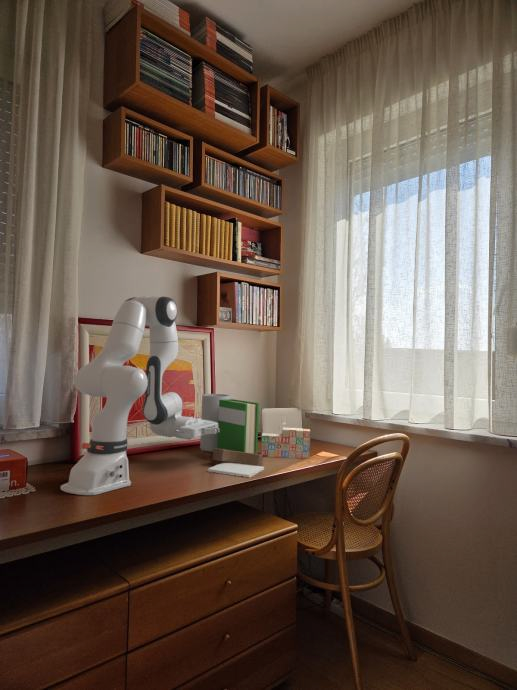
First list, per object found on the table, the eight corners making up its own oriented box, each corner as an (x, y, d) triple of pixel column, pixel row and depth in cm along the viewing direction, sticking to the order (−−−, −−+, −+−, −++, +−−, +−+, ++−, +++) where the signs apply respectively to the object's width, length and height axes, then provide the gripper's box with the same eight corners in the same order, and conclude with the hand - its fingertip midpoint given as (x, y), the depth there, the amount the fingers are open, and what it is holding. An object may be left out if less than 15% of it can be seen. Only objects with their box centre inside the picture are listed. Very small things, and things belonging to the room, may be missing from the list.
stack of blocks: (260, 456, 200) (261, 428, 201) (261, 453, 207) (262, 426, 207) (309, 459, 199) (310, 430, 199) (309, 456, 205) (309, 428, 205)
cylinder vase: (226, 452, 205) (228, 396, 205) (198, 451, 205) (200, 395, 205) (228, 447, 217) (230, 394, 218) (201, 446, 217) (203, 393, 218)
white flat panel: (249, 477, 165) (249, 474, 165) (207, 471, 171) (207, 468, 171) (264, 469, 177) (264, 466, 177) (224, 463, 184) (224, 461, 184)
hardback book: (256, 460, 193) (258, 403, 193) (243, 462, 188) (245, 403, 188) (230, 452, 206) (232, 399, 206) (217, 454, 201) (219, 399, 201)
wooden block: (211, 459, 180) (254, 465, 174) (213, 447, 181) (256, 453, 175) (220, 460, 188) (261, 466, 182) (221, 449, 189) (263, 454, 184)
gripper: (172, 423, 174) (204, 426, 169) (200, 417, 193) (229, 420, 187) (172, 439, 174) (203, 443, 168) (199, 432, 193) (228, 435, 187)
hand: (217, 431), depth 178 cm, fingers closed
